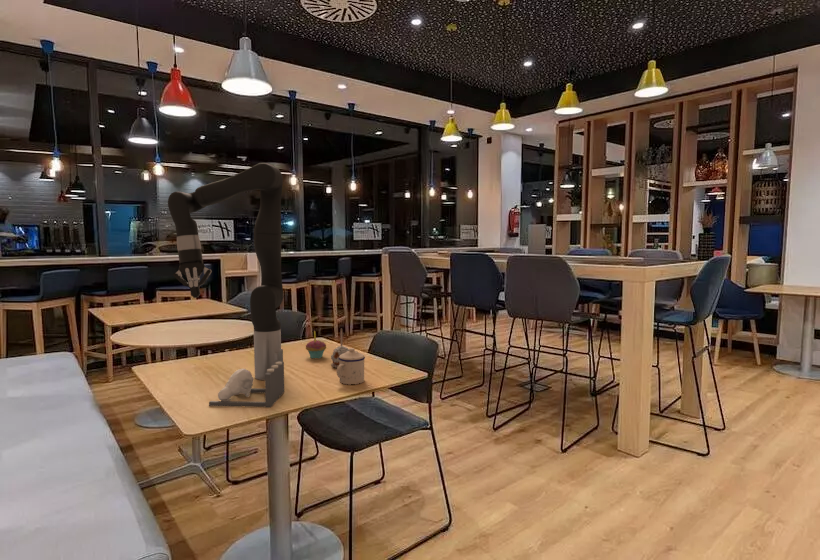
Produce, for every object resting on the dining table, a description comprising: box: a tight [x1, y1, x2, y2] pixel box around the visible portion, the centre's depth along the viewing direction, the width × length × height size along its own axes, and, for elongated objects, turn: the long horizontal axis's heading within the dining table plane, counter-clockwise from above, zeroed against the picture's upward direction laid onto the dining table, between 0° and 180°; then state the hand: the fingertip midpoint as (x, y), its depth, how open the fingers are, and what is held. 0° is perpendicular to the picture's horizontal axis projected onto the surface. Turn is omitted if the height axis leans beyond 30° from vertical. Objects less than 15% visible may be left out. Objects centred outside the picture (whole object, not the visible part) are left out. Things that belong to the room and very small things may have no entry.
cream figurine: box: [217, 368, 255, 401], centre depth 143 cm, size 6×8×12 cm
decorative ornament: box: [330, 328, 350, 368], centre depth 180 cm, size 8×8×15 cm
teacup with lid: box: [336, 347, 366, 386], centre depth 160 cm, size 12×9×12 cm
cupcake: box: [305, 330, 327, 359], centre depth 193 cm, size 9×8×12 cm
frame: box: [208, 361, 285, 409], centre depth 143 cm, size 19×14×11 cm
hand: (196, 297), depth 164 cm, fingers closed
